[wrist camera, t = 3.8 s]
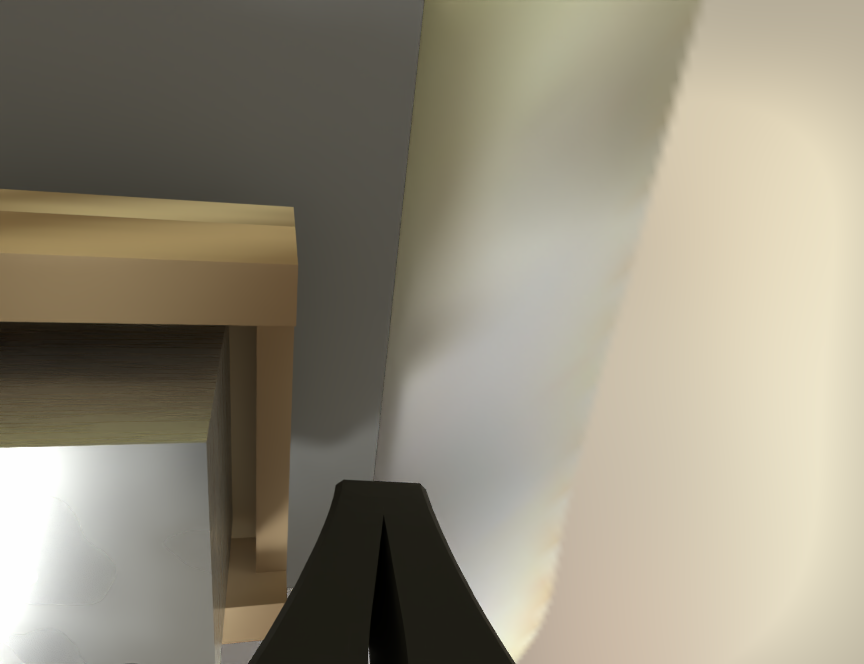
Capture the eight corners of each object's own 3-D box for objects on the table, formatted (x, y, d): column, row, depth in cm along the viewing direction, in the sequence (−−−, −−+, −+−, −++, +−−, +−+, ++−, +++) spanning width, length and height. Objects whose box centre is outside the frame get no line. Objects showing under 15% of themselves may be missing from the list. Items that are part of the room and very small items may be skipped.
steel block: (228, 305, 11) (206, 442, 8) (232, 520, 13) (216, 702, 10) (-106, 297, 10) (-315, 456, 6) (-41, 535, 12) (-169, 751, 9)
